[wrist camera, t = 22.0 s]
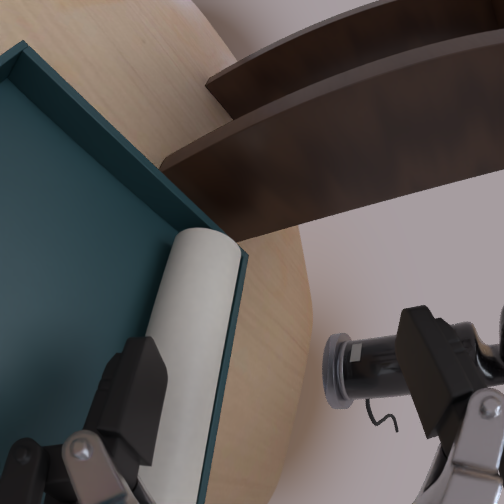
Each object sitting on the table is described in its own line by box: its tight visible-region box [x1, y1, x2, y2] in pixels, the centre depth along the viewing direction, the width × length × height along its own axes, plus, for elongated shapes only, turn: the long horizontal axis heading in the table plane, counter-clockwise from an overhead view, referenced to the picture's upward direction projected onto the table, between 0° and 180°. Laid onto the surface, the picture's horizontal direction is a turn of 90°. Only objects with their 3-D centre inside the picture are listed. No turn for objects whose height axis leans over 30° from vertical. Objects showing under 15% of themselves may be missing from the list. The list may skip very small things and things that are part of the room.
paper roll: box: [138, 228, 241, 504], centre depth 15 cm, size 4×20×4 cm, turn 166°
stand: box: [159, 0, 504, 242], centre depth 21 cm, size 10×16×33 cm, turn 165°
